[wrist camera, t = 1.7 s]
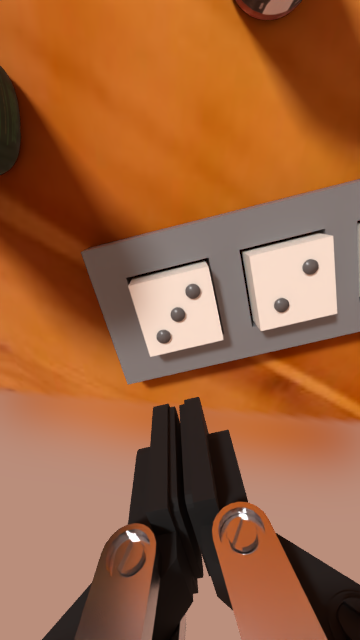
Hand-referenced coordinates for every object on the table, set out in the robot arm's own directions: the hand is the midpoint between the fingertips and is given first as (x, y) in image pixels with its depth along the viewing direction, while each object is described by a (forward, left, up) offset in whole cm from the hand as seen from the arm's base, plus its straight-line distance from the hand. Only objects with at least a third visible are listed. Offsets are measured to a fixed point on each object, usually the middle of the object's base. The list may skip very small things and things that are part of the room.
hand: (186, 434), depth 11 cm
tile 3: (0, 0, -15) cm, 15 cm away
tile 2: (-9, 0, -15) cm, 18 cm away
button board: (-9, 0, -17) cm, 19 cm away
